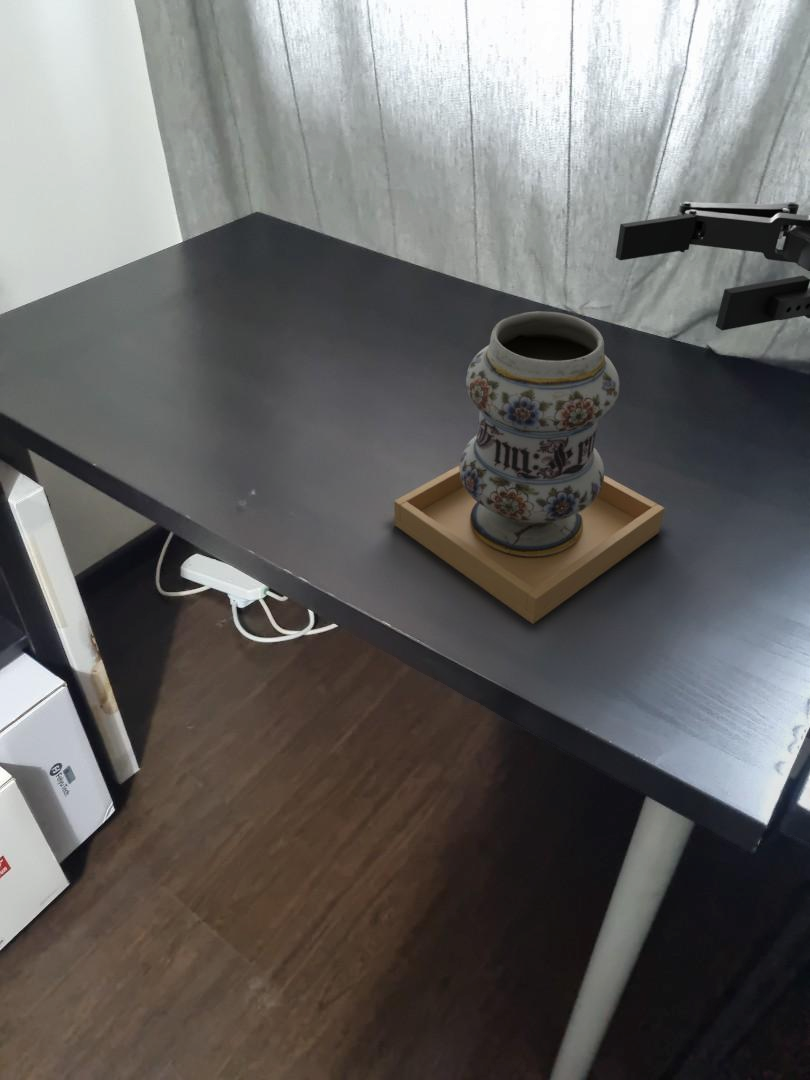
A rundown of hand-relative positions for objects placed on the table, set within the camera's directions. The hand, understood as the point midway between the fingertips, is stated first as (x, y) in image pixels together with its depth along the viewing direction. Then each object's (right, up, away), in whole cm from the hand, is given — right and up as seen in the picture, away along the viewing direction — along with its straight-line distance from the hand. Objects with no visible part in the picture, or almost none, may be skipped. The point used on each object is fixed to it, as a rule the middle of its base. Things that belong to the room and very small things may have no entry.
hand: (667, 273), depth 62 cm
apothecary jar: (-9, -18, +12) cm, 24 cm away
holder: (-9, -19, +12) cm, 24 cm away
